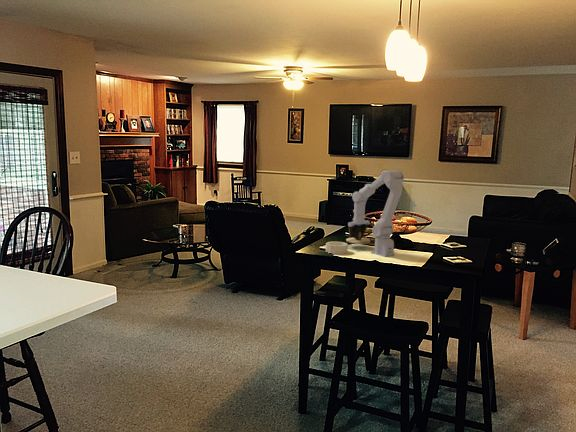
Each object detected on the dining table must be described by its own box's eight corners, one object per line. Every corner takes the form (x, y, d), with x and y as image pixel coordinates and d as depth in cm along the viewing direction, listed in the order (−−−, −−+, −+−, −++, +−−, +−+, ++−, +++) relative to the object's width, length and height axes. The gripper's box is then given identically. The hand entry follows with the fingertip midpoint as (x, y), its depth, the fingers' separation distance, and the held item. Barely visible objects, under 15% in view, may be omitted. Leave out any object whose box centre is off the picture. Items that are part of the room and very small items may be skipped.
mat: (377, 248, 268) (377, 248, 268) (358, 252, 259) (358, 251, 259) (357, 243, 280) (357, 243, 280) (338, 247, 270) (338, 246, 270)
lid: (375, 241, 267) (375, 233, 267) (358, 244, 260) (358, 235, 259) (357, 238, 278) (358, 229, 277) (341, 240, 270) (341, 231, 269)
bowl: (351, 252, 257) (351, 244, 256) (335, 255, 250) (336, 246, 250) (336, 248, 266) (337, 240, 265) (321, 251, 259) (321, 243, 258)
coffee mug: (357, 242, 285) (358, 225, 283) (344, 240, 290) (345, 223, 289) (367, 239, 294) (368, 222, 293) (354, 237, 299) (355, 221, 298)
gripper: (363, 211, 274) (362, 235, 276) (344, 213, 265) (343, 238, 267) (372, 213, 268) (371, 237, 270) (353, 215, 259) (352, 240, 262)
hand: (358, 238), depth 268 cm, fingers closed on lid, 3 cm apart
